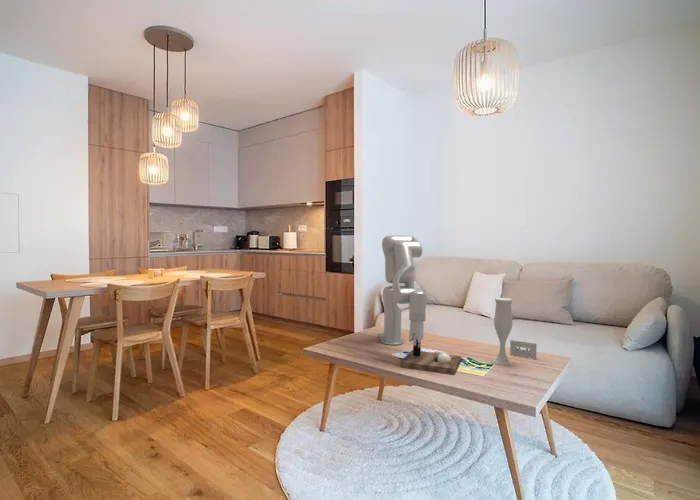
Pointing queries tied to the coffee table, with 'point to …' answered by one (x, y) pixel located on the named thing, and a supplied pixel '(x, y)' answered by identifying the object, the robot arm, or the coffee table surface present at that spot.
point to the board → (431, 362)
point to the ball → (444, 358)
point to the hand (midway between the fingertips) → (416, 355)
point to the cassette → (523, 353)
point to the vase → (503, 327)
